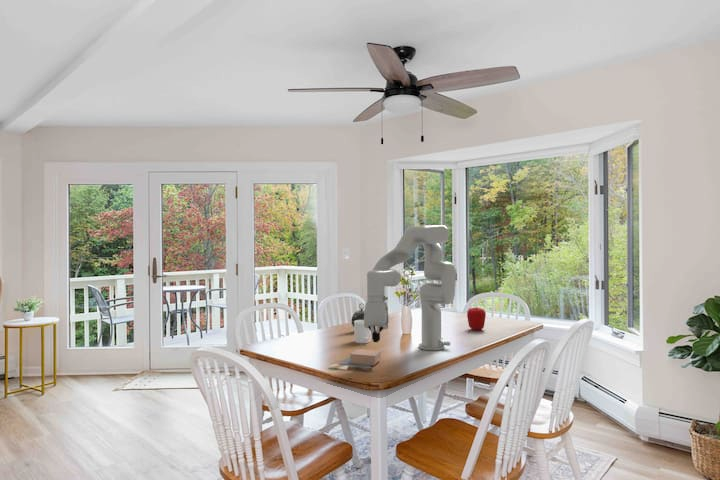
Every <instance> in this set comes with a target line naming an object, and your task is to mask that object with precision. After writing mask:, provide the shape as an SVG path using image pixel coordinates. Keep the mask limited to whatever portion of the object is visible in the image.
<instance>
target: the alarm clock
mask: <svg viewBox="0 0 720 480" xmlns="http://www.w3.org/2000/svg"><path fill="white" fill-rule="evenodd" d="M361 305H363V307H361ZM358 308H359V309H360V310H356V311H355V312H354V313H353V315H352V316H351V325H352V327H353V328H354V321H356V320H364V311H365V310H364V309H365V305H364V303H360V304H359V307H358Z"/></svg>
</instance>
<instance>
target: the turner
mask: <svg viewBox="0 0 720 480" xmlns="http://www.w3.org/2000/svg"><path fill="white" fill-rule="evenodd" d="M328 369H329V370H337V369H340V371H348V370H350V369H351V370H354V371H363V372H372V371H373V366H371V367H363V366H351V365H339V364H335V363H334V364H332V365H330V366H329V367H328Z"/></svg>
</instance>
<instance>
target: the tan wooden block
mask: <svg viewBox="0 0 720 480" xmlns="http://www.w3.org/2000/svg"><path fill="white" fill-rule="evenodd" d="M349 356H350V362H351V363H356V364H367V365H373V366H375V365H376V364H378V363H379V362H380V361H381V360H382V351H381V350H374V349H361V348H357V349H355V350H354V351H353V352H351V353H350V354H349Z"/></svg>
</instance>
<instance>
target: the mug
mask: <svg viewBox="0 0 720 480" xmlns="http://www.w3.org/2000/svg"><path fill="white" fill-rule="evenodd" d="M353 333H354V336H353V338H354V343H356V344H364V345H365V344H369V343H370V342H372V341H371V340H372V332H371V331H370V329H369V328H365V327H364V320H356V321H354V327H353Z"/></svg>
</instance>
